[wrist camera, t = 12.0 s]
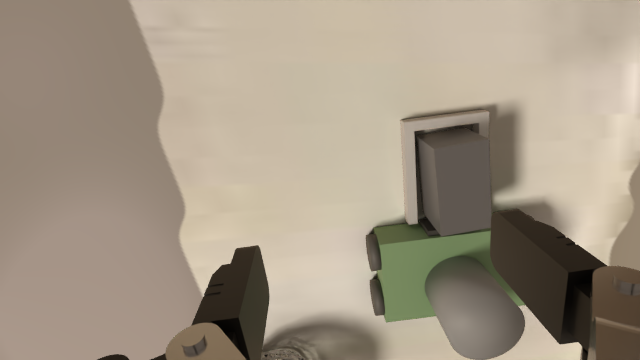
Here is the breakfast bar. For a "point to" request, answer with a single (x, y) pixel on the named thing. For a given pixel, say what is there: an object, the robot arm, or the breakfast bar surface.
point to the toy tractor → (443, 266)
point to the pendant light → (290, 359)
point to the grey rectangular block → (455, 180)
